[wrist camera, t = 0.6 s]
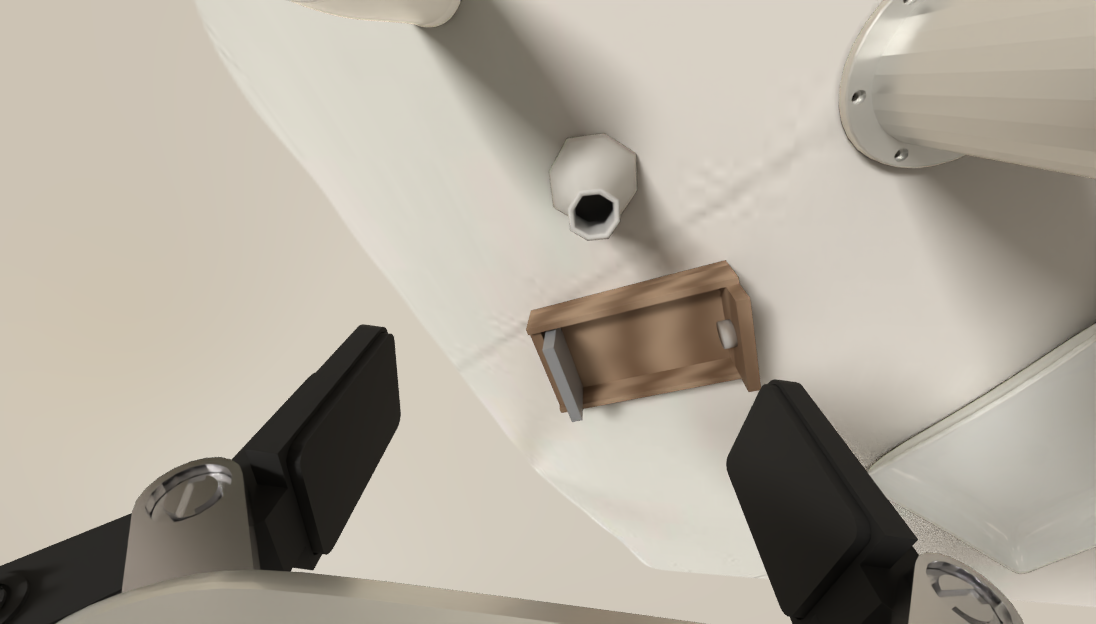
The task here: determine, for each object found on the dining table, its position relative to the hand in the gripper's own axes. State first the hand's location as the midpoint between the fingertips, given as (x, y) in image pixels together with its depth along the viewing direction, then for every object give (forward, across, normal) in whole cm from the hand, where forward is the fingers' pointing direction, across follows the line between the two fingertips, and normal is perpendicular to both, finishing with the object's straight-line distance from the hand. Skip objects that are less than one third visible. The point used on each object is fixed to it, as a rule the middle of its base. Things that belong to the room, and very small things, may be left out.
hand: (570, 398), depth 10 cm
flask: (+26, -1, -1) cm, 26 cm away
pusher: (+25, -1, +16) cm, 29 cm away
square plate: (+25, -52, +19) cm, 60 cm away
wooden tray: (+26, -8, +13) cm, 30 cm away
